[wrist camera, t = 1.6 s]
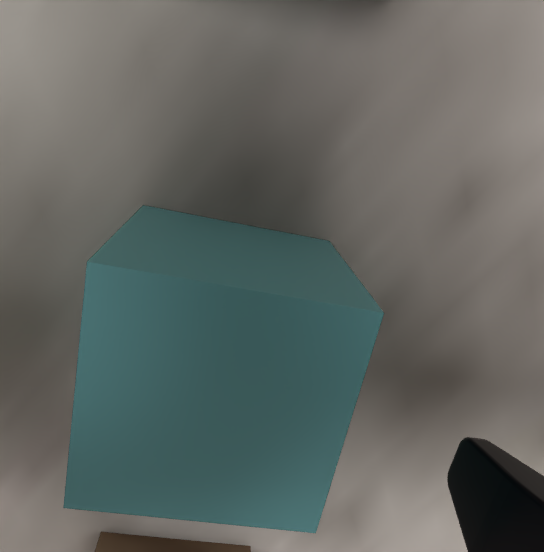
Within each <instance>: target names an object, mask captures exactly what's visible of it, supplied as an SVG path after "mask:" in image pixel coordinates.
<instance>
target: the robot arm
mask: <svg viewBox="0 0 544 552" xmlns="http://www.w3.org/2000/svg"><path fill="white" fill-rule="evenodd" d="M448 487H449V490H450V494H451V497H452V500H453V504H454V507H455V510H456V514H457V517H458V520H459V524H460V527H461V530H462V533H463V537H464V540H465V543H466V547H467V550H468V552H544V476H542V475H541V474H539V473H538V472H536V471H535V470H533V469H532V468H530V467H528V466H527V465H525V464H524V463H522V462H521V461H519V460H517V459H516V458H514V457H513V456H511V455H510V454H508V453H507V452H505V451H503V450H502V449H500V448H499V447H497V446H496V445H494V444H492V443H491V442H489V441H487V440H485V439H478V438H471V437H466V438H464V439H463V440H462V441H461V442H460V444H459V446H458V449H457V451H456V454H455V456H454V459H453V461H452V464H451V466H450V469H449V472H448Z"/></svg>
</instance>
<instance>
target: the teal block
mask: <svg viewBox="0 0 544 552" xmlns="http://www.w3.org/2000/svg"><path fill="white" fill-rule="evenodd" d="M383 315H384V312H383V311H382V310H381V308H380V307H379V306H378V304H377V303H376V302H375V300H374V299H373V298H372V296H371V295H370V294H369V292H368V291H367V290H366V289H365V287H364V286H363V285H362V283H361V282H360V281H359V279H358V278H357V277H356V275H355V274H354V273H353V271H352V270H351V269H350V268H349V266H348V265H347V264H346V262H345V261H344V260H343V258H342V257H341V256H340V254H339V253H338V252H337V251H336V249H335V248H334V247H333V245H332V244H331V243H330V241H327V240H321V239H316V238H311V237H306V236H301V235H296V234H290V233H285V232H280V231H275V230H270V229H264V228H259V227H254V226H249V225H244V224H238V223H233V222H228V221H223V220H218V219H212V218H207V217H202V216H197V215H192V214H187V213H181V212H176V211H171V210H166V209H161V208H155V207H150V206H145V205H143V206H142V207H141V208H140V209H139V210H138V211H137V212H136V213H135V214H134V215H133V216H132V217H131V218H130V219H129V220H128V221H127V222H126V223H125V224H124V225H123V226H122V227H121V228H120V229H119V230H118V231H117V232H116V233H115V234H114V235H113V236H112V237H111V238H110V239H109V240H108V241H107V242H106V243H105V244H104V245H103V246H102V247H101V248H100V249H99V250H98V251H97V252H96V253H95V254H94V255H93V256H92V257H91V258H90V259H89V260H88V261H87V267H86V277H85V288H84V298H83V309H82V319H81V330H80V340H79V351H78V361H77V372H76V382H75V393H74V403H73V414H72V424H71V435H70V445H69V456H68V466H67V477H66V487H65V498H64V508H69V509H79V510H89V511H99V512H109V513H119V514H129V515H139V516H149V517H159V518H169V519H179V520H189V521H199V522H209V523H219V524H229V525H239V526H249V527H259V528H269V529H279V530H289V531H299V532H309V533H316V530H317V527H318V524H319V521H320V518H321V514H322V511H323V508H324V505H325V501H326V498H327V495H328V492H329V489H330V485H331V482H332V479H333V476H334V473H335V469H336V466H337V463H338V460H339V456H340V453H341V450H342V447H343V444H344V440H345V437H346V434H347V431H348V427H349V424H350V421H351V418H352V415H353V411H354V408H355V405H356V402H357V399H358V395H359V392H360V389H361V386H362V382H363V379H364V376H365V373H366V370H367V366H368V363H369V360H370V357H371V354H372V350H373V347H374V344H375V341H376V337H377V334H378V331H379V328H380V325H381V321H382V318H383Z"/></svg>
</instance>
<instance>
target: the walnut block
mask: <svg viewBox="0 0 544 552" xmlns="http://www.w3.org/2000/svg"><path fill="white" fill-rule="evenodd" d="M95 552H251V549H250V546H243V545H233V544H222V543H212V542H201V541H191V540H181V539H170V538H160V537H150V536H139V535H129V534H118V533H108V532H101V534H100V537H99V540H98V543H97V546H96V549H95Z"/></svg>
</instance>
